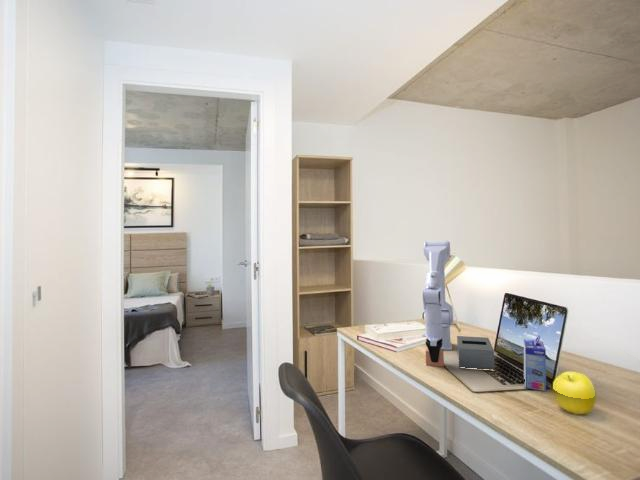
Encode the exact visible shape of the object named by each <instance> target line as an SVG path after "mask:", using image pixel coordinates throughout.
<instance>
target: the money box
mask: <svg viewBox="0 0 640 480" xmlns="http://www.w3.org/2000/svg"><path fill="white" fill-rule="evenodd" d="M456 340H457V341H456V343H457V344H456V346H457V348H456V350H457V360H459V361H458V368H459V367H465V368H477V369H493V370H496V367H495V350H494V347H493V346H492V343H491V340H490V338H489V337H485V336H483V337H482V336H481V337H480V336H468V335H467V336H464V335H463V336H462V335H457V336H456Z"/></svg>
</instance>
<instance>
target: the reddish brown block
mask: <svg viewBox="0 0 640 480" xmlns="http://www.w3.org/2000/svg"><path fill="white" fill-rule="evenodd" d="M444 356H445V355H444V349H440V352H439V359H438V363H436V362H432V361H431V358H430V353H429V350H428V348H425V366H431V367H442V368H443V367H445V360H444V359H445V357H444Z"/></svg>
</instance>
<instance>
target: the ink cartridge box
mask: <svg viewBox="0 0 640 480" xmlns="http://www.w3.org/2000/svg"><path fill="white" fill-rule="evenodd" d="M546 354H547V353H546V348H545V345H544V341H541V336H540V335H537V337H536V338H535V339H533V340H532V339H523V380H524V379H525V382H524V386H525V387H524V388H525V389H530V390H536V391H541V392H547V369H546V368H547V361H546Z"/></svg>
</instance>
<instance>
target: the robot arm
mask: <svg viewBox="0 0 640 480" xmlns="http://www.w3.org/2000/svg"><path fill="white" fill-rule="evenodd" d="M423 254H424V256H425V259H426V260H427V262H429V272H427V273H426V276H425V284H424V290H422V294H421V295H422V304H423V310H424V328H425V329H424V330H425V332H424V333H422V334H421V336H422V338H426V339H425V340H426V341H425V346H426V347H427V348H426V349H428V350H429V353H430V358H431V361H432V362H436V363H438V359H439V352H440V350H443V351H444V350H445V351H446V350H447V351H452V350H453V346H452V345H453V344H452V342H451V340H452V339H451V326H453V324H454V309H453V305H451V304H450V303H449V302H447V301H446V286H445V285H446V282H445V281H446V279H445V266H446V263H447V262H448V261H450V260H451V242H450V241H449V240H445V241H444V240H441V241H439V240H438V241H424V243H423Z"/></svg>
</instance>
